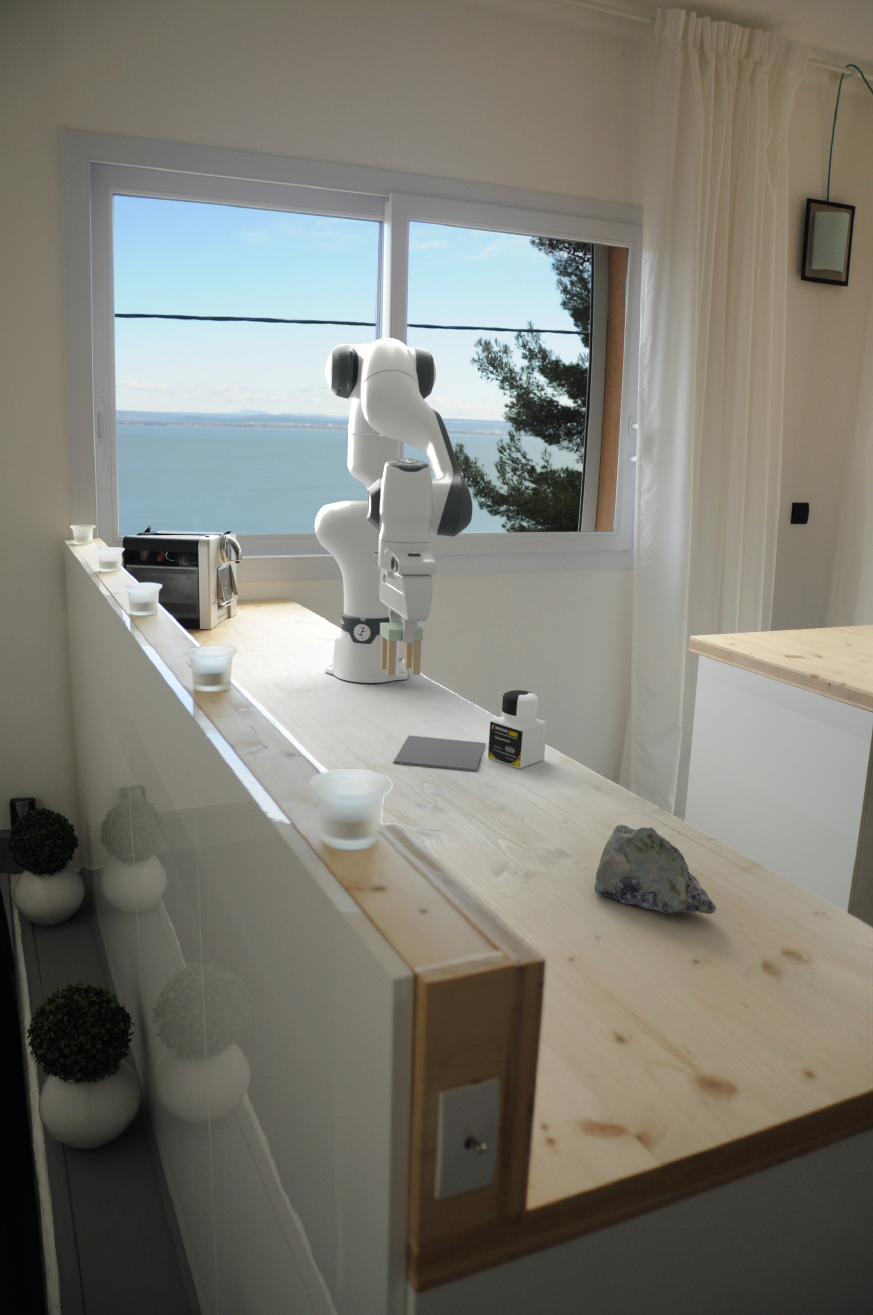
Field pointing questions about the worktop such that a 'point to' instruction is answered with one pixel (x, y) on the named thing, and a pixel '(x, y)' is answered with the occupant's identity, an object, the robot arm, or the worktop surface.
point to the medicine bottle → (517, 731)
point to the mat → (441, 753)
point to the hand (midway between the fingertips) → (401, 637)
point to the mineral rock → (649, 873)
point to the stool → (388, 648)
